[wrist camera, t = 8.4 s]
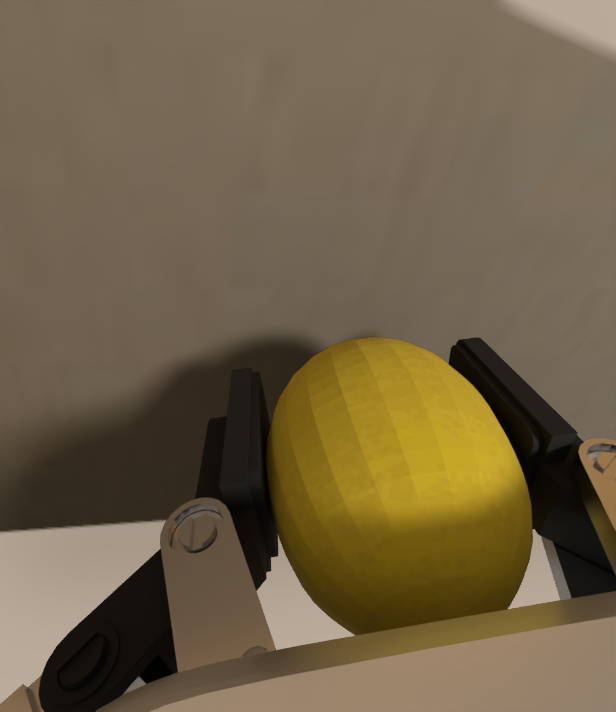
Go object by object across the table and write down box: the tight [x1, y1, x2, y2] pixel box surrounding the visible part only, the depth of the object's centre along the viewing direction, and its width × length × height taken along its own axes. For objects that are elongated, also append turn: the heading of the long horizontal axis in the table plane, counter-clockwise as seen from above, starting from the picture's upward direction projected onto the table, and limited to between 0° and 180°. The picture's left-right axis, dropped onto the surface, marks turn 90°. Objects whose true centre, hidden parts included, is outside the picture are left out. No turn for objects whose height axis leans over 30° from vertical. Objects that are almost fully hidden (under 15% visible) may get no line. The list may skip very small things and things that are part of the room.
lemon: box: [266, 337, 533, 636], centre depth 9 cm, size 6×6×8 cm
